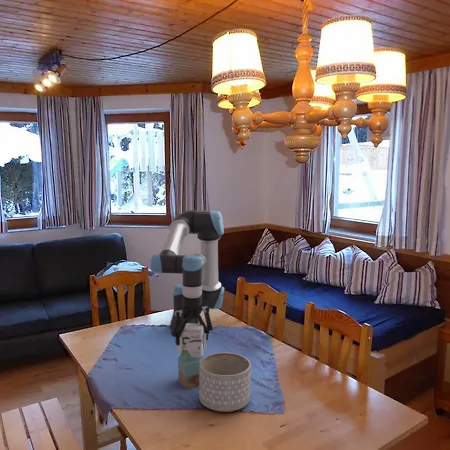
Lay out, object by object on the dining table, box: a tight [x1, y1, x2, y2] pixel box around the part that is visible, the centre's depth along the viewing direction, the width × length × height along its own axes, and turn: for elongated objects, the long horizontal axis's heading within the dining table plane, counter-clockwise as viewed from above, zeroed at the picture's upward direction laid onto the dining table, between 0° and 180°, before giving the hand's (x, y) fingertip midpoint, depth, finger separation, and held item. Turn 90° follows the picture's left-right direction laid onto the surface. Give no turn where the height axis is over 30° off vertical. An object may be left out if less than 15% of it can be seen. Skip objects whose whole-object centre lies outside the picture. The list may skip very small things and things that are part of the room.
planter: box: [198, 351, 252, 413], centre depth 154 cm, size 19×19×14 cm
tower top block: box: [177, 355, 203, 377], centre depth 167 cm, size 8×8×5 cm
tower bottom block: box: [178, 369, 199, 390], centre depth 167 cm, size 8×8×5 cm
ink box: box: [180, 323, 204, 358], centre depth 166 cm, size 9×5×12 cm, turn 84°
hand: (191, 350), depth 167 cm, fingers closed on ink box, 9 cm apart
